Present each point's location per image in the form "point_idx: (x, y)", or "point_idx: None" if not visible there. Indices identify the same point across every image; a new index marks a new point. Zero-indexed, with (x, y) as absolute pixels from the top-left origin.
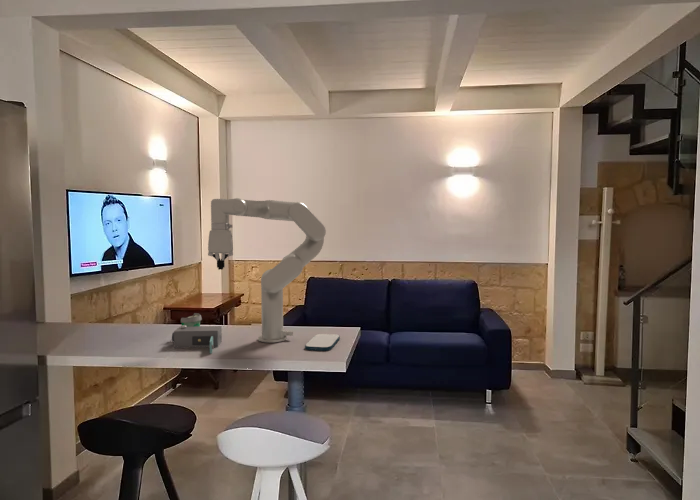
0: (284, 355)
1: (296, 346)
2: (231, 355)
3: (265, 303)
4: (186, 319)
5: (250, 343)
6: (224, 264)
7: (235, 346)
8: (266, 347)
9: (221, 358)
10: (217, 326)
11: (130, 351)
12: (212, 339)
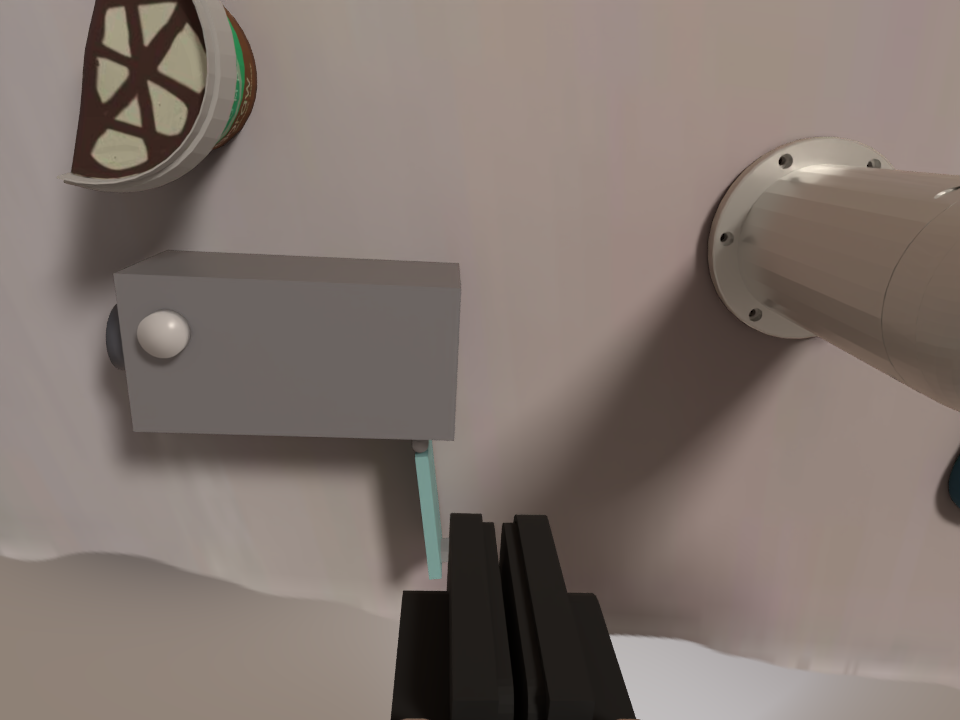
0: (814, 584)
1: (914, 425)
2: None
3: (930, 397)
4: (119, 188)
5: (651, 326)
6: (607, 633)
7: (559, 390)
8: (741, 430)
9: None
10: (430, 297)
11: None
12: (434, 511)
